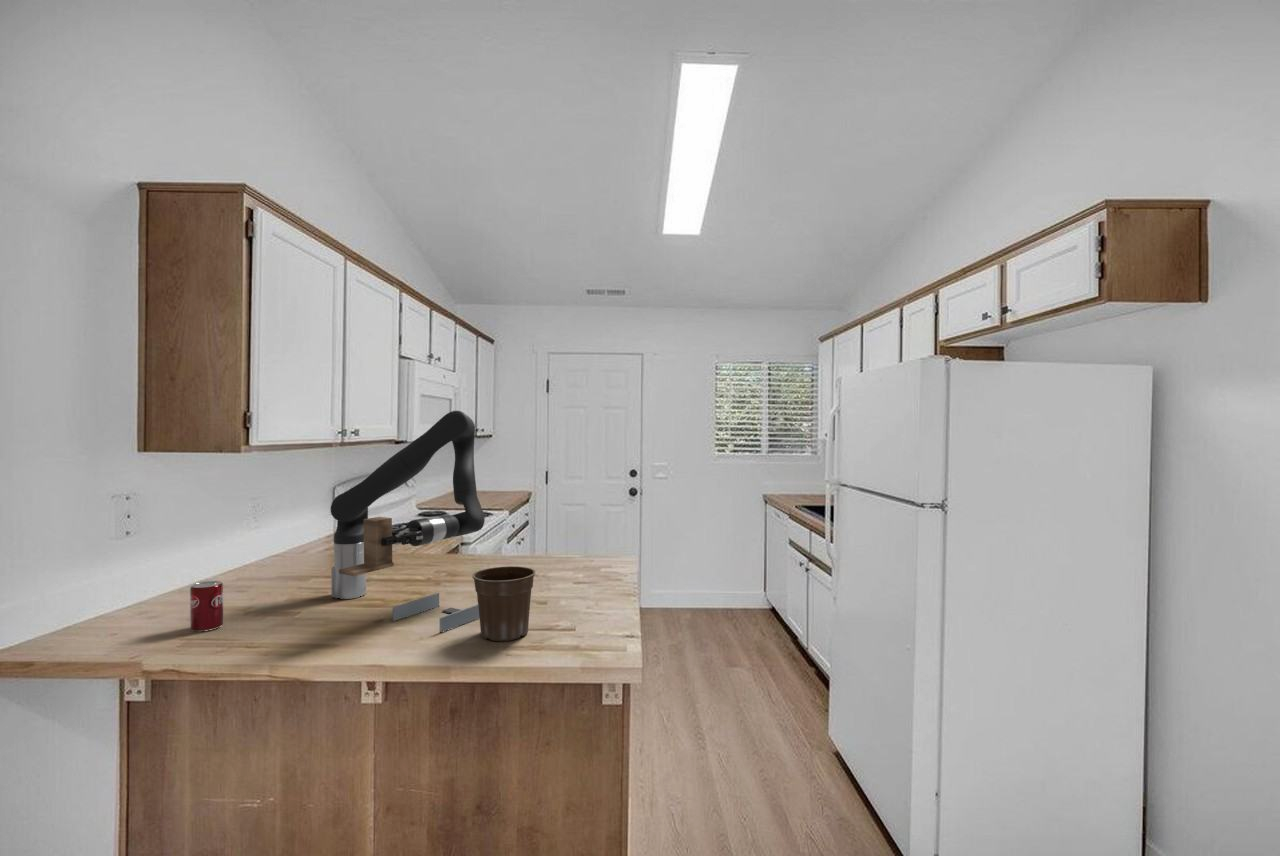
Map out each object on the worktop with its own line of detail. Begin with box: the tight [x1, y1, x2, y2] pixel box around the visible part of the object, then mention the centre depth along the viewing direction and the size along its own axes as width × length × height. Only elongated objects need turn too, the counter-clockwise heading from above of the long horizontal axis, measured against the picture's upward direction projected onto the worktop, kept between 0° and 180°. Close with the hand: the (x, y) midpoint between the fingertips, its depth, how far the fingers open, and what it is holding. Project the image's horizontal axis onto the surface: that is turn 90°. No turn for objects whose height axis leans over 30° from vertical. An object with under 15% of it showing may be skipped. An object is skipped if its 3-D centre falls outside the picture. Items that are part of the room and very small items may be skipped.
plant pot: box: [472, 565, 536, 642], centre depth 162 cm, size 16×16×16 cm
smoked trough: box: [392, 592, 479, 633], centre depth 174 cm, size 16×19×4 cm
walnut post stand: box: [339, 516, 395, 576], centre depth 162 cm, size 12×6×13 cm, turn 151°
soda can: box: [189, 580, 224, 632], centre depth 166 cm, size 7×7×12 cm
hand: (375, 541), depth 165 cm, fingers closed on walnut post stand, 5 cm apart
